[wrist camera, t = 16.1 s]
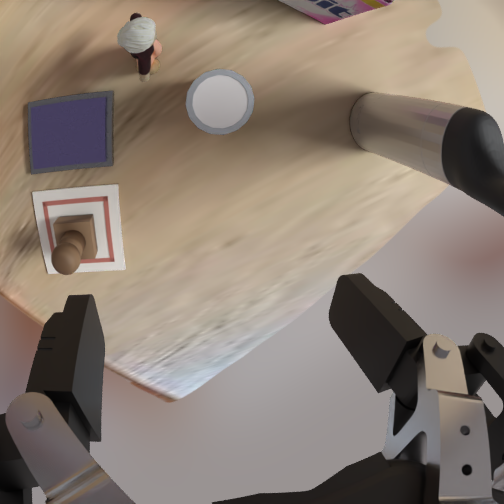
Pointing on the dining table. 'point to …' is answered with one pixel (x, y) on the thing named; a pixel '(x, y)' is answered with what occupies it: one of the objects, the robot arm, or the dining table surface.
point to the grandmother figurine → (141, 44)
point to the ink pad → (71, 132)
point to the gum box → (335, 8)
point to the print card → (80, 203)
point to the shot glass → (220, 101)
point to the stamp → (73, 242)
